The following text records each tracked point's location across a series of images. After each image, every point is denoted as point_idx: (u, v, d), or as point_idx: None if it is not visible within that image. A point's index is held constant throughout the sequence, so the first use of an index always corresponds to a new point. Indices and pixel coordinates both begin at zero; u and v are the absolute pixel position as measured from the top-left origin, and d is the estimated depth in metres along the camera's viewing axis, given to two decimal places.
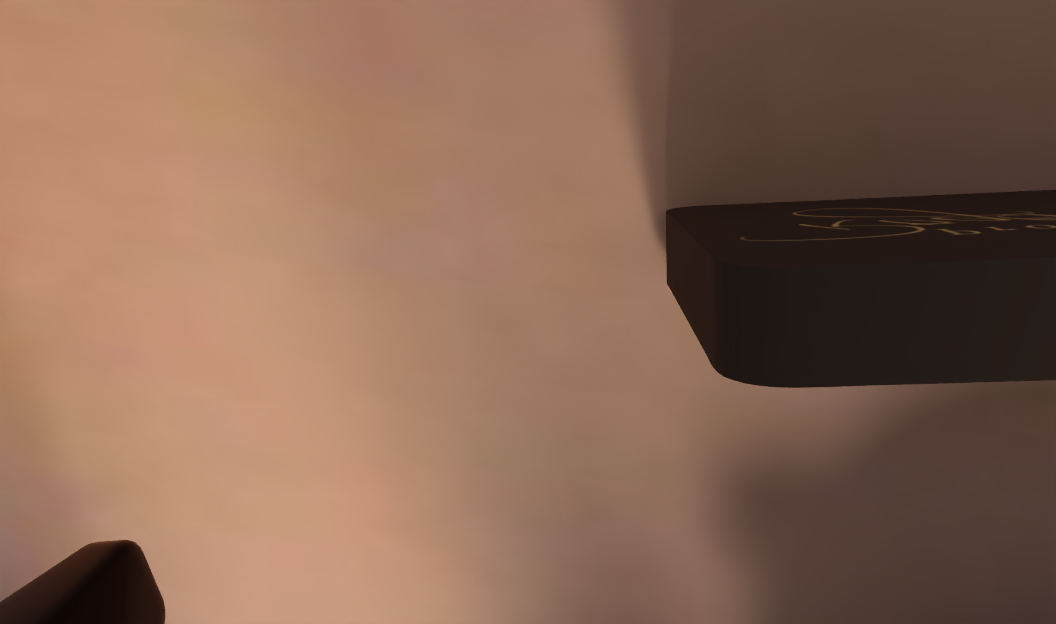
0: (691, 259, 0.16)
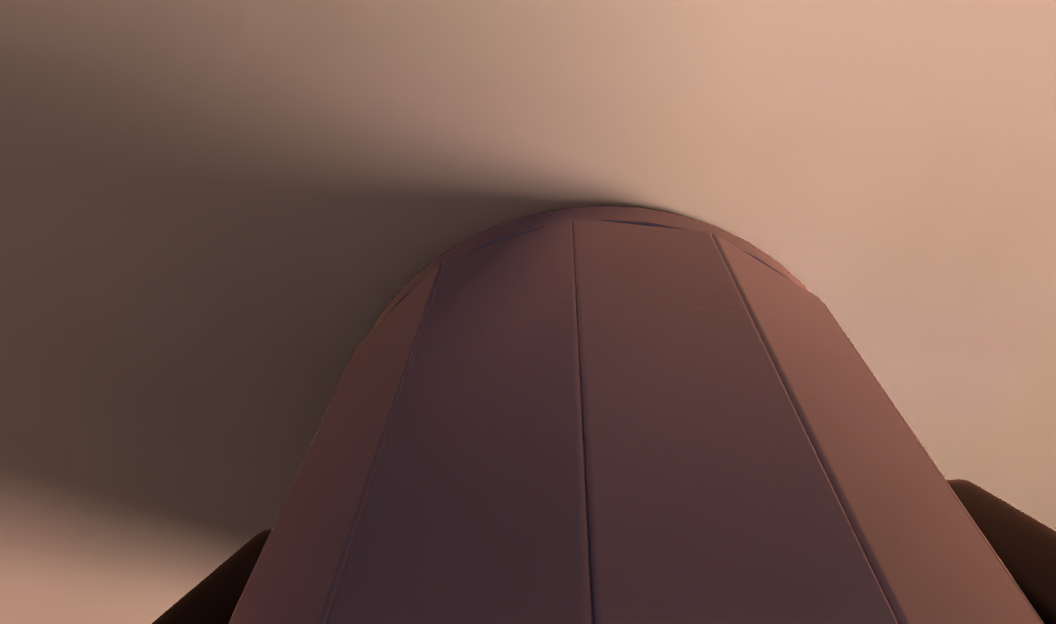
0: None
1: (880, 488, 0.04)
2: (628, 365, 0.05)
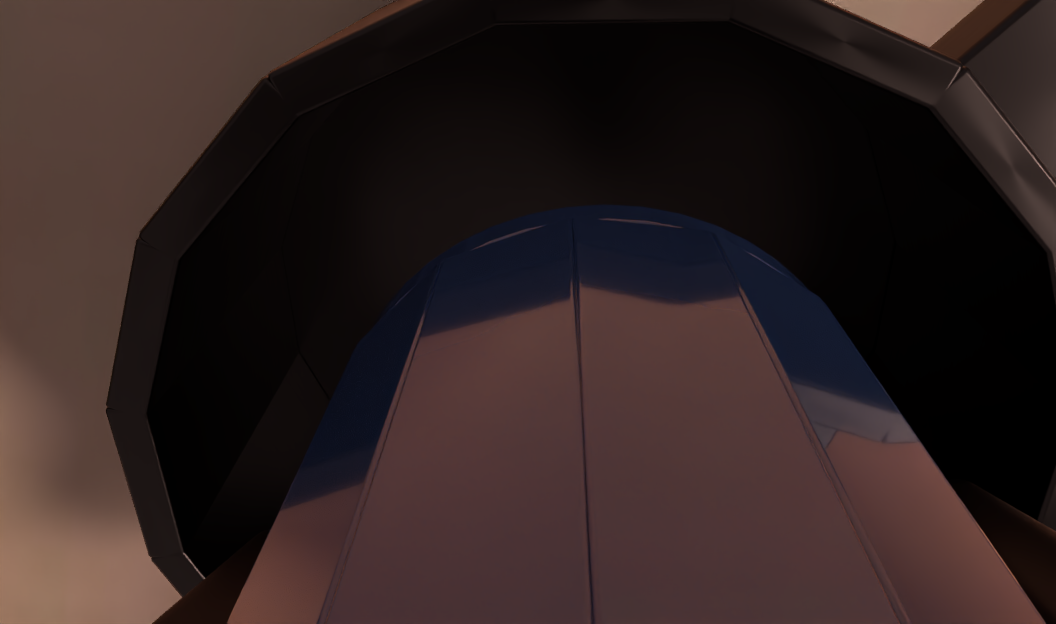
0: None
1: (881, 487, 0.04)
2: (628, 364, 0.05)
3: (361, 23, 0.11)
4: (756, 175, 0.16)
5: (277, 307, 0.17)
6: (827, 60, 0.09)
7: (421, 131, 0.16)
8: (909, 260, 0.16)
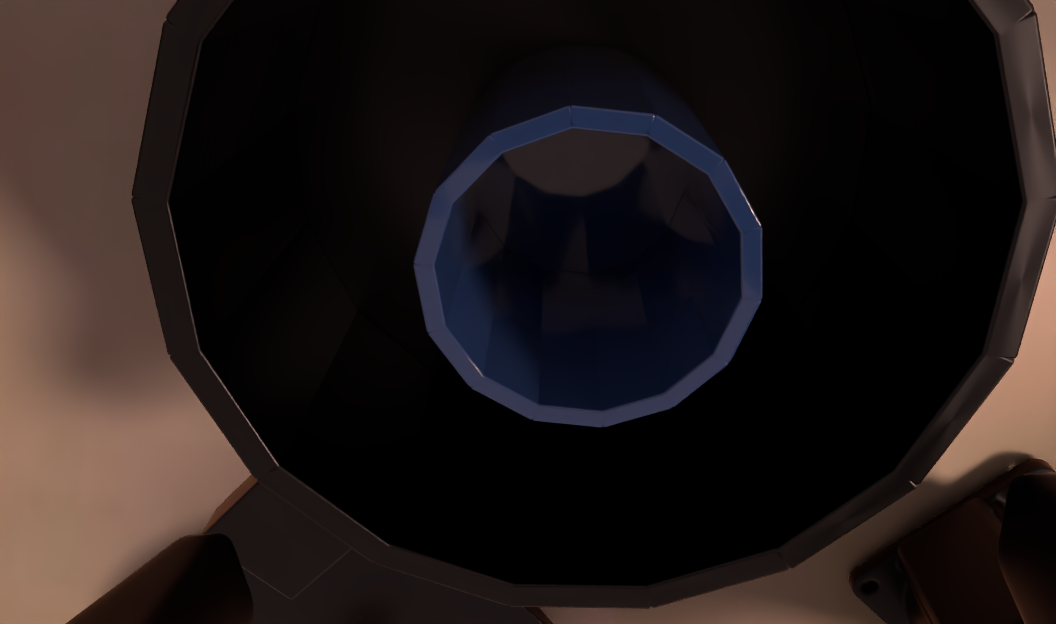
0: None
1: (658, 92, 0.14)
2: (583, 67, 0.15)
3: None
4: (739, 41, 0.17)
5: (286, 168, 0.18)
6: None
7: None
8: (883, 121, 0.17)
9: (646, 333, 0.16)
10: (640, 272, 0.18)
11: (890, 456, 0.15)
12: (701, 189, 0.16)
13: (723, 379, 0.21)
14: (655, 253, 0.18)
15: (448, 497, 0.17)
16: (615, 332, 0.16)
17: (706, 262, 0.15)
